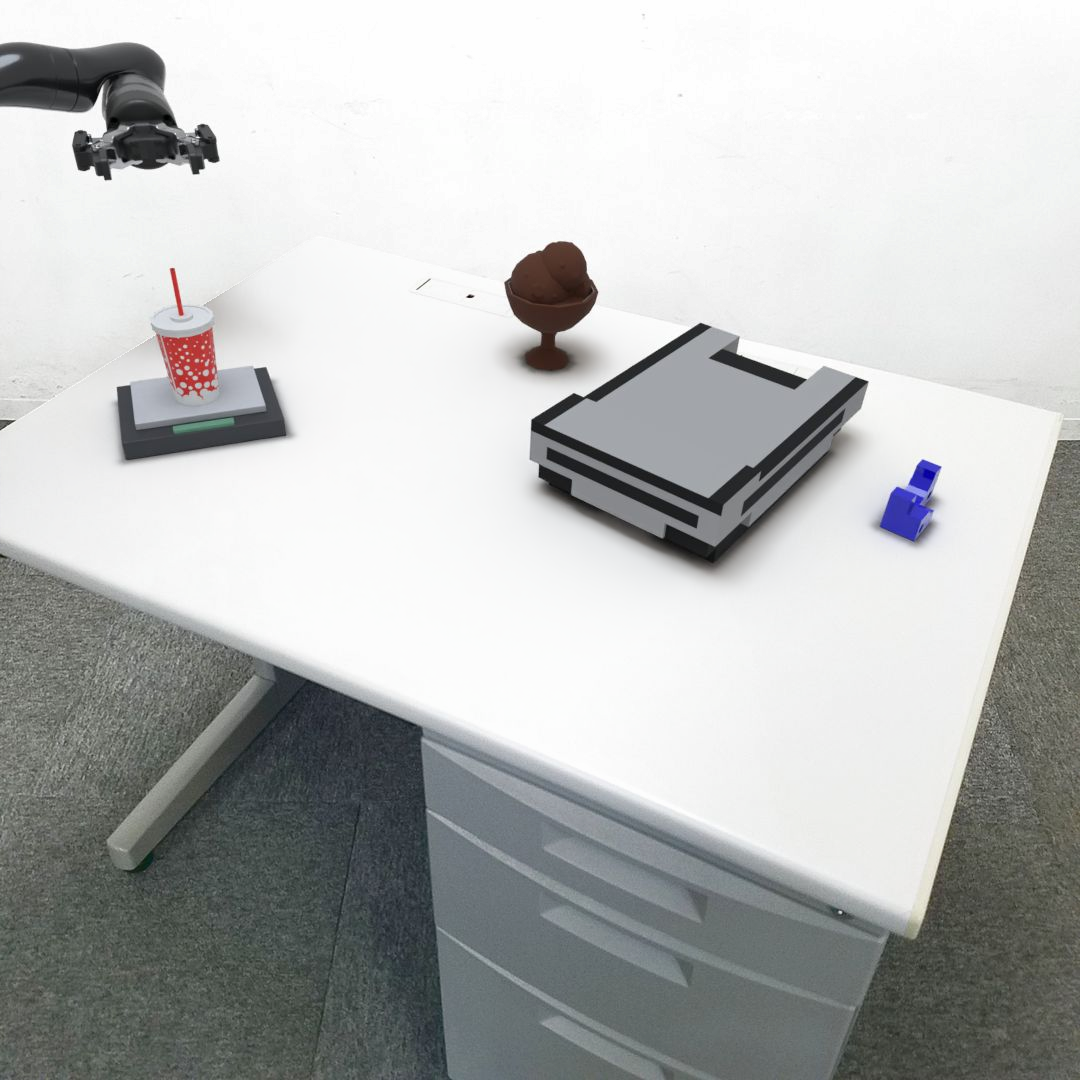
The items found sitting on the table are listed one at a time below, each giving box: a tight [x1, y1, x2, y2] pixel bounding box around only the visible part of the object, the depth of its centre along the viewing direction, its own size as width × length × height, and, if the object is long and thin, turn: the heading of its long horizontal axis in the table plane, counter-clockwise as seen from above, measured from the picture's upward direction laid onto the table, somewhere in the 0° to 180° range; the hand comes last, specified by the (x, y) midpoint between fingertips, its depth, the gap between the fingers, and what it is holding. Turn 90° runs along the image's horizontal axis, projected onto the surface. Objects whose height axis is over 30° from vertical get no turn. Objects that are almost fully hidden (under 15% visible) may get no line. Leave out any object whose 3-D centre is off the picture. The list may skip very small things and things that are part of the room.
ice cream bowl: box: [503, 240, 599, 372], centre depth 113 cm, size 11×11×15 cm
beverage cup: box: [149, 267, 220, 406], centre depth 98 cm, size 6×6×14 cm
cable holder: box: [879, 458, 943, 542], centre depth 94 cm, size 8×4×4 cm, turn 141°
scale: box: [116, 365, 287, 460], centre depth 103 cm, size 16×12×3 cm
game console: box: [529, 322, 870, 564], centre depth 99 cm, size 21×32×8 cm, turn 142°
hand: (151, 167), depth 98 cm, fingers open, 8 cm apart
